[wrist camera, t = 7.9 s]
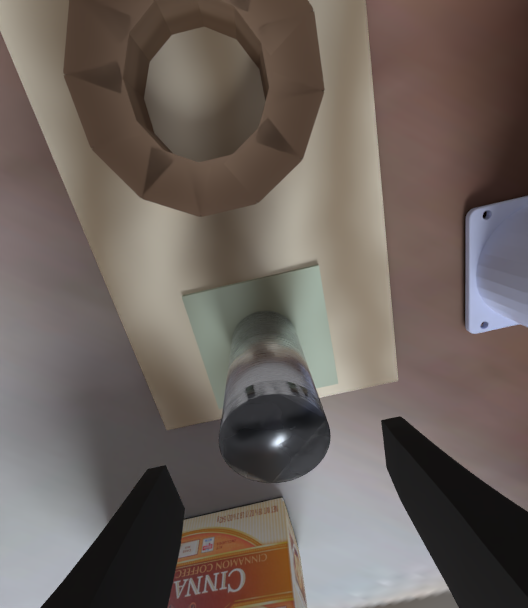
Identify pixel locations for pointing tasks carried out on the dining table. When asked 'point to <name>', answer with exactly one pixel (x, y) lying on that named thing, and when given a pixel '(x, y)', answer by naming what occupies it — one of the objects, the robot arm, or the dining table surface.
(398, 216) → the dining table surface
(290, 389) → the pin
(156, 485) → the robot arm
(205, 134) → the board
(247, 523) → the coffeecake box
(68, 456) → the dining table surface
